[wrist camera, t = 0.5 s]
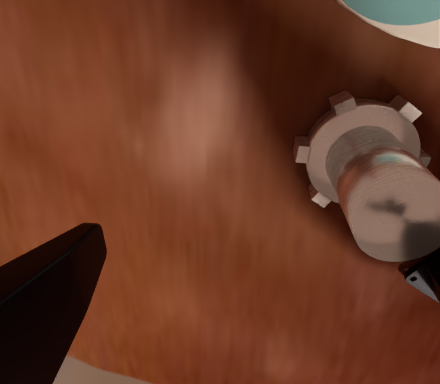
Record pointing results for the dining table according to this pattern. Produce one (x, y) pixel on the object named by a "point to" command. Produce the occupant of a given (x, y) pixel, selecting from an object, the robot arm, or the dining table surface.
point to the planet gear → (374, 175)
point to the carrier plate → (400, 18)
